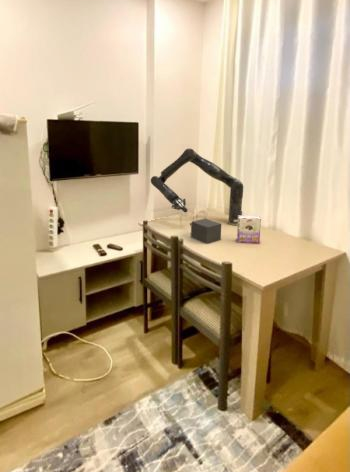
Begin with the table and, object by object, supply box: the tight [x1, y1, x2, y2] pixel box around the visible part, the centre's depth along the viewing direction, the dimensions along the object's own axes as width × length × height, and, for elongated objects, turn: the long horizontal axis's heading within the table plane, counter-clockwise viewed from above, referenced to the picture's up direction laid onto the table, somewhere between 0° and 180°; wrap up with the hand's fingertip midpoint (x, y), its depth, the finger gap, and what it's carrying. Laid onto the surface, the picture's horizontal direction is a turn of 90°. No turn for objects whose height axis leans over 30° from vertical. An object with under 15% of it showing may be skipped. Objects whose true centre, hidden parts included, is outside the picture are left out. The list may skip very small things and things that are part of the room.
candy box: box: [236, 215, 262, 244], centre depth 205 cm, size 14×6×16 cm, turn 84°
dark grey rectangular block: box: [190, 217, 222, 245], centre depth 210 cm, size 15×13×11 cm
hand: (186, 211), depth 225 cm, fingers closed
